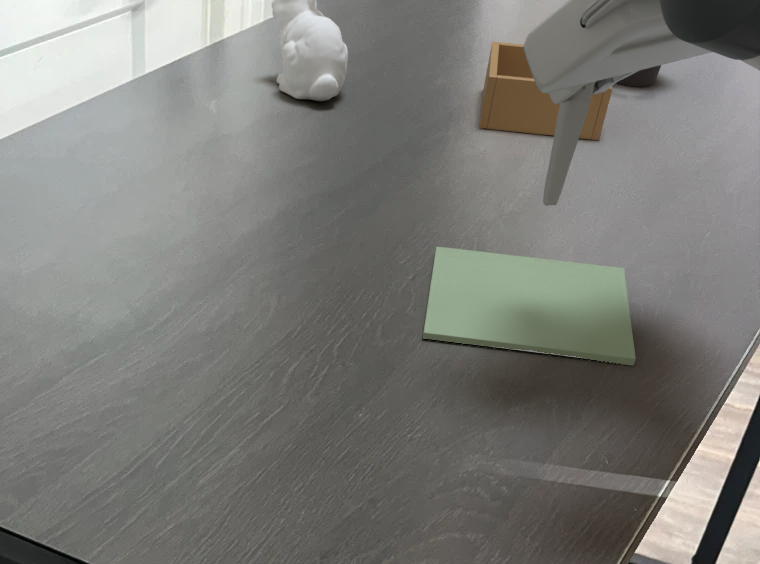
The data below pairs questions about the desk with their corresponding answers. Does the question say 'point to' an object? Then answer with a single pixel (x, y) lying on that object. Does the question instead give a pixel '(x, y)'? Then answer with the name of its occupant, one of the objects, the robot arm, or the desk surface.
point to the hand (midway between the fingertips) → (573, 88)
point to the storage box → (527, 98)
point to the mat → (530, 305)
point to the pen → (565, 142)
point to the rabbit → (309, 51)
